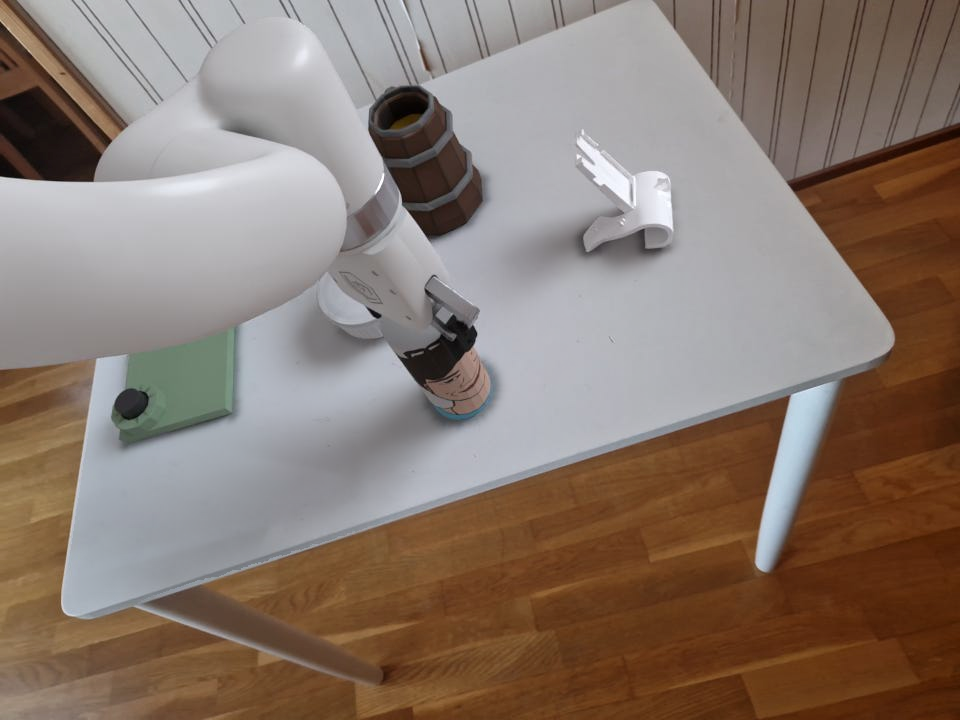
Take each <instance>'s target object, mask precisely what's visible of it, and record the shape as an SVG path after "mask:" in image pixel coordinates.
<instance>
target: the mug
mask: <svg viewBox="0 0 960 720" xmlns="http://www.w3.org/2000/svg"><path fill="white" fill-rule="evenodd" d="M453 120H454V118H453V113H452V111H451V110H450V109H449V108H447V107H446V106H443V105H442V104H441V103H440V101H439V100H438V98H437V97H436V96H435V95H433V93H432V92H430V91H429V90H427V89H426V88H425V87H424V86H422V85H420V84H412V85H411V84H410V85H409V84H408V85H406V84H405V85H398V86H393V85H392V86H389V87H387V88H385V90H384V92H383V93H382V94H380V95H379V97H378V98H377V99H376V100H375V101H374V102H373V104H372V105H371V106H370V107H369V108H368V121H367V122H368V123H367V125H368V126H367V130H368V132H369V134H370V136H371V138H372V140H373V142H374V144H375V146H376V148H377V150H378V151H379V153H380V155H381V157H382V159H383V161H384V163H385V165H386V166H387V168H388V170H389V172H390V174H391V176H392V178H393V180H394V182H395V183H396V185H397V187H398V189H399V191H400V194H401V198H402V206H403V207H404V208H405V209H406V210H407V211H408V213H409V214H410V215H411V216H412V218H413V219H414V220H415V222H416V223H417V225H418V226H419V227H420V229H421V230H422V232H423V233H424V235H433V236H441V235H443V234H445V233H447V232H449V231H452V230H453V229H456V228H458V227H461V226H462V225H464V224H466V223H468V221H470V219H471V218H472V216H473V215H474V214H475V212H476V210H477V209H478V208H479V207H480V206H481V204H482V203H483V202H484V200H483V182H482V177H481V175H480V171H479V169H478V168H477V167H476V166H474V164H473V155H472V151H470V150H469V149H468V148H466V147H465V146H464V145H462V144H461V143H460V142H459V139H458V137H457V135H456V134H455V131H454V122H453Z"/></svg>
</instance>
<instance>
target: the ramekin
mask: <svg viewBox="0 0 960 720" xmlns="http://www.w3.org/2000/svg"><path fill="white" fill-rule="evenodd" d="M316 289H317V290H316V301H317V305H318V307H319V310H320V311H321V313H322V315H323V316H324V317H325V318H326V320H328V321H329V322H330V323H332V324H333V325H334V326H337V327H339V328H340V329H342V331H344V332H346V333H347V334H349V335H350V336H352V337H355V338H357V339H363V340H374V339H379V338H384V337H383V335H382V333H381V327H380V320H381V318H379V319H376V318H375V317H373V316H372V315H371V314H370V312H369V311H368V310H367V308H366V307H365V306H364V305H362V304H361V303H359V302H357V301H355V300H354V299H352V298H350V297H349V296H347V295H346V294H345V293H344V292H342V291H341V289H340V288H339V287H338V286H337V284H336V283H335V281H334V280H333V279H332V277H331V276H330V274H329V273H328V271H327V272H326V273H325V274H324V275H323V276H322V277H321V278H320V279H319V280H318V284H317V288H316Z"/></svg>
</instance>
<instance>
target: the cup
mask: <svg viewBox="0 0 960 720" xmlns="http://www.w3.org/2000/svg"><path fill="white" fill-rule="evenodd" d="M429 299H430V300H431V302H433V301H434V300H433V299H431V298H430V297H429ZM452 315H453V314H452V313H451V312H450V311H448V310H447V309H445V308H444V307H443V306H442V307H441V309H440V310H439V311H438V313H437V314H436V315H435V316H437V317H438V318H439V319H440V320H441V321H442V322H444V323H445V324H446V323H447V321H448V320H449V319H450V317H451V316H452ZM380 327H381V333H382V335H383V337H382V338H384V340H385V342H386V343H387V344H388V346H389V347H390V348H391V350H392V352H394V354H395V355H396V357H397V358H398V359H399V361H400V362H401V363H402V365H403V366H404V368H405V369H406V370H407V372H408V373H409V375H410V376H411V377H412V379H413V380H414V381H415V383H416V385H417V386H418V387H419V388H420V389H421V391H422V392H423V393H424V395H425V396H426V398H427V399H428V401H429V402H430V403H431V405H432V406H433V407H434V409H435V410H436V412H438V413H439V414H440V415H441V416H443V417H444V418H447V419H450V420H454V421H455V420H458V421H461V420H466V419H470V418H473V417H474V416H476V415H478V414H479V413H481V412H482V411H483V409H484V408H486V406H488V403H489V401H490V399H491V397H492V391H493V384H492V378H491V377H490V375H489V373H488V371H487V370H486V367H485V366H484V364H483V361H482V359H481V358H480V355H479V354H478V352H477V350H476V348H475V345H474V346H473V347H472V348H471V350H470V351H469V352H466V353H465V354H464V355H463V357H462V358H461V360H460V361H458V362H457V361H455V360H453V359H452V358H451V356H450V354H449V353H448V351H447V350H446V348H445V346H444V345H443V343H442V342H441V340H440V335H441V333H440V332H439V331H437V330H436V329H435V328H434V327H433V326H432V325H431V324H430V325H429V326H428V327H427V329H426V330H424V331H414V330H411V329H409V328H407V327H405V326H403V325H401V324H399V323H397V322H395V321H393V320H391V319H389V318H387V317H385V316H383V315H382V316H381V320H380Z"/></svg>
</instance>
